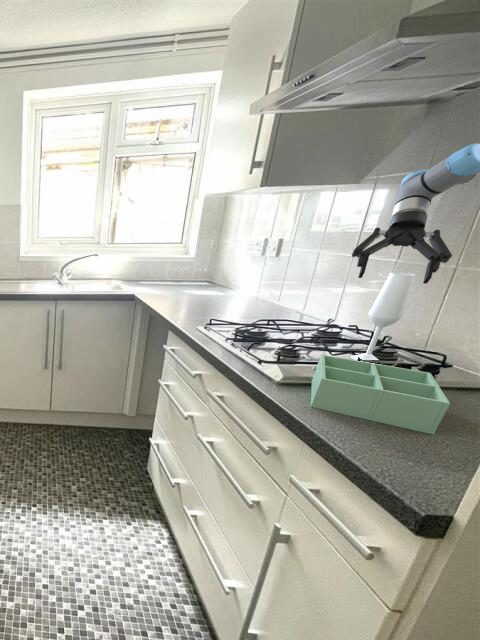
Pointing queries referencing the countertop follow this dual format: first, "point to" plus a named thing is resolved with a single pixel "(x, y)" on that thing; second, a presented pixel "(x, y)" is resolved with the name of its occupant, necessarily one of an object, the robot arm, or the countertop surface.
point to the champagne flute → (388, 307)
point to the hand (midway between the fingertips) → (393, 277)
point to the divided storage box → (378, 393)
